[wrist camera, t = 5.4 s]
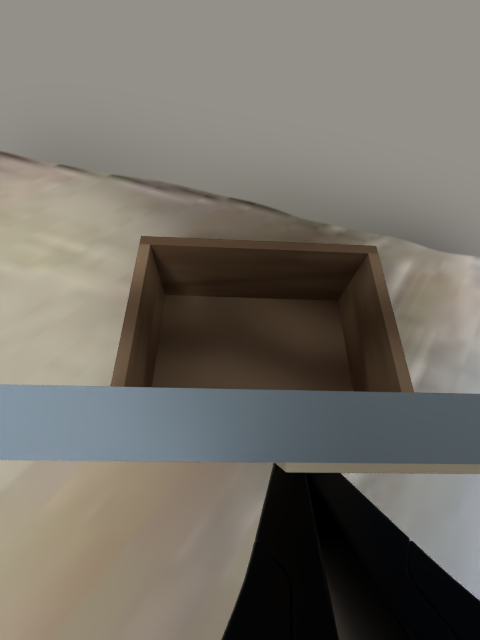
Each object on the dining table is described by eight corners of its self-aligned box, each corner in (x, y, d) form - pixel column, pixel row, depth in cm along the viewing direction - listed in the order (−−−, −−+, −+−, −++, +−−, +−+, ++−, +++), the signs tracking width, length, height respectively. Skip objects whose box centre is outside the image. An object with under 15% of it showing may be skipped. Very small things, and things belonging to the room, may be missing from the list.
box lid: (428, 415, 14) (431, 436, 14) (98, 409, 13) (94, 432, 13) (909, 402, 4) (956, 477, 4) (-250, 379, 3) (-292, 468, 3)
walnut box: (365, 435, 19) (420, 416, 14) (137, 431, 19) (105, 411, 13) (341, 298, 24) (375, 245, 19) (159, 292, 23) (141, 236, 18)
